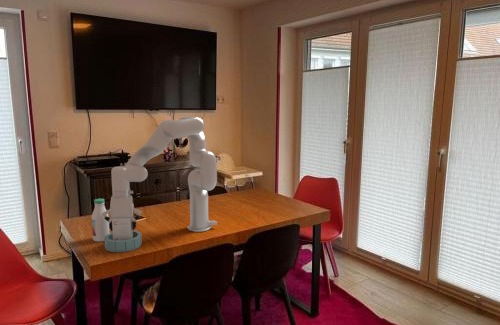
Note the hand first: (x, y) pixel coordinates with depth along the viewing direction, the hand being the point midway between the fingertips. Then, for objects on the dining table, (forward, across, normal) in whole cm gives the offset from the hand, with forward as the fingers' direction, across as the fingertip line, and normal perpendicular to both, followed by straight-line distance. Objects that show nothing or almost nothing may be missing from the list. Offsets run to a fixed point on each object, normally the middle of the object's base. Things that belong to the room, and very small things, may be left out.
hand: (122, 229), depth 174 cm
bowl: (+8, 0, 0) cm, 8 cm away
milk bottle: (+8, +12, -11) cm, 18 cm away
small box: (+7, 0, 0) cm, 7 cm away
